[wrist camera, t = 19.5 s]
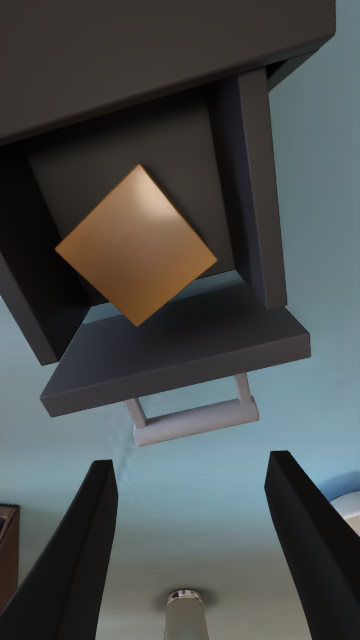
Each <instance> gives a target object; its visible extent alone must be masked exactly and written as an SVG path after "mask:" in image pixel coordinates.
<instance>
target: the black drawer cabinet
mask: <svg viewBox="0 0 360 640" xmlns="http://www.w3.org/2000/svg"><path fill="white" fill-rule="evenodd" d="M335 32H336V0H0V146H3V145H6V144H9V143H13V142H16V141H19V140H23V139H26V138H29V137H32V136H36V135H39V134H42V133H45V132H49V131H52V130H55V129H59V128H62V127H65V126H68V125H72V124H75V123H78V122H81V121H85V120H88V119H91V118H95V117H98V116H101V115H104V114H108V113H111V112H114V111H117V110H121V109H124V108H127V107H131V106H134V105H137V104H140V103H144V102H147V101H150V100H153V99H157V98H160V97H163V96H167V95H170V94H173V93H176V92H180V91H183V90H186V89H189V88H193V87H196V86H199V85H203V84H206V83H209V82H212V81H216V80H219V79H222V78H225V77H229V76H232V75H235V74H238V73H242V72H245V71H248V70H252V69H255V68H258V67H261V66H265V65H266V75H267V86H268V92H269V91H271V90H272V89H273V88H274V87H275V86H276V85H278V84H279V83H280V82H281V81H282V80H284V79H285V78H286V77H287V76H288V75H289V74H291V73H292V72H293V71H294V70H295V69H297V68H298V67H299V66H300V65H301V64H302V63H304V62H305V61H306V60H307V59H308V58H310V57H311V56H312V55H313V54H314V53H315V52H317V51H318V50H319V48H320V47H322V46H323V45H324V44H325V43H326V42H327V41H329V40H330V39H331V38H332V37H333V36H334V35H335Z"/></svg>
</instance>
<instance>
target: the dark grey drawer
mask: <svg viewBox="0 0 360 640" xmlns="http://www.w3.org/2000/svg"><path fill="white" fill-rule="evenodd" d="M137 163H141V164H142V165H144V166H145V167H147V168H148V169H149V170H150V172H151V173H152V174H153V175H154V177H155V178H156V179H157V180H158V182H159V183H160V184H161V185H162V187H163V188H164V189H165V190H166V192H167V193H168V194H169V195H170V197H171V198H172V199H173V200H174V202H175V203H176V204H177V205H178V207H179V208H180V209H181V210H182V212H183V213H184V214H185V215H186V217H187V218H188V219H189V220H190V222H191V223H192V224H193V225H194V227H195V228H196V229H197V230H198V232H199V233H200V234H201V235H202V237H203V238H204V239H205V241H206V242H207V244H208V245H209V247H210V248H211V250H212V251H213V253H214V254H215V256H216V257H217V259H218V261H217V262H216V263H214V264H213V265H212V266H211V267H210V268H208V269H207V270H206V271H205V272H203V273H202V274H201V275H200V276H199V277H197V278H196V279H195V280H197V279H201V278H204V277H208V276H212V275H216V274H220V273H224V272H228V271H231V270H236V271H237V272H238V274H239V275H240V276H241V277H242V279H243V280H244V281H245V282H246V283H243V284H239V285H235V286H231V287H227V288H224V289H220V290H216V291H212V292H208V293H204V294H200V295H196V296H192V297H188V298H184V299H180V300H177V301H173V302H169V303H166V304H165V305H163V306H162V307H161V308H160V309H158V310H157V311H156V312H155V313H154V314H152V315H151V316H150V317H149V318H148V319H146V320H145V321H144V322H143V323H141V324H140V325H139V326H135V325H134V324H133V323H132V322H131V321H130V320H129V319H128V318H127V317H126V316H125V315H124V314H122V315H118V316H114V317H110V318H106V319H102V320H98V321H94V322H90V323H86V324H82V322H83V320H84V318H85V317H86V315H87V313H88V311H89V310H90V308H91V307H92V306H96V305H100V304H104V303H108V302H110V301H109V300H108V299H107V298H105V297H104V296H103V295H102V294H101V293H100V292H99V291H98V290H97V289H96V288H95V287H94V286H93V285H92V284H90V283H89V282H88V281H87V280H86V279H85V278H84V277H83V276H82V275H81V274H80V273H79V272H78V271H77V270H76V269H74V268H73V267H72V266H71V265H70V264H69V263H68V262H67V261H66V260H65V259H64V258H63V257H62V256H61V255H60V254H58V253H57V252H56V251H55V247H56V246H57V245H58V244H59V243H60V242H61V241H62V240H63V239H64V238H65V237H66V236H67V235H68V234H69V233H70V232H71V231H72V230H73V229H74V228H75V227H76V226H77V225H78V224H79V223H80V222H81V221H82V220H83V219H84V218H85V217H86V216H87V215H88V214H89V213H90V212H91V211H92V210H93V208H94V207H95V206H96V205H97V204H98V203H99V202H100V201H101V200H102V199H103V198H104V197H105V196H106V195H107V194H108V193H109V192H110V191H111V190H112V189H113V188H114V187H115V186H116V185H117V184H118V183H119V182H120V181H121V180H122V179H123V178H124V177H125V176H126V175H127V174H128V173H129V172H130V171H131V170H132V169H133V168H134V166H135V165H136V164H137ZM0 295H1V297H2V299H3V300H4V302H5V304H6V305H7V307H8V309H9V311H10V312H11V314H12V316H13V318H14V319H15V321H16V323H17V324H18V326H19V328H20V330H21V331H22V333H23V335H24V337H25V338H26V340H27V342H28V343H29V345H30V347H31V349H32V350H33V352H34V354H35V356H36V357H37V359H38V361H39V362H40V364H41V366H44V365H48V364H52V363H56V362H59V361H60V360H61V361H60V363H59V364H58V366H57V368H56V370H55V371H54V373H53V375H52V377H51V378H50V380H49V382H48V383H47V385H46V387H45V389H44V390H43V392H42V394H41V396H40V400H41V402H42V404H43V405H44V407H45V409H46V410H47V412H48V413H49V415H50V417H57V416H61V415H65V414H69V413H74V412H78V411H82V410H86V409H91V408H95V407H99V406H104V405H108V404H112V403H116V402H121V401H124V402H125V404H126V407H127V409H128V411H129V413H130V415H131V418H132V420H133V422H134V438H135V441H136V444H137V445H138V446H139V447H141V446H145V445H150V444H155V443H159V442H164V441H168V440H173V439H177V438H182V437H186V436H191V435H195V434H200V433H204V432H209V431H213V430H218V429H222V428H227V427H231V426H236V425H240V424H245V423H249V422H254V421H258V420H259V413H258V409H257V405H256V402H255V400H254V397H253V396H252V395H250V390H249V384H248V379H247V373H246V372H249V371H253V370H258V369H262V368H266V367H271V366H275V365H279V364H283V363H288V362H292V361H296V360H300V359H305V358H309V357H311V347H310V333H309V332H308V331H307V330H306V329H305V328H304V327H303V326H302V325H301V324H300V323H299V322H298V320H297V319H296V318H295V317H294V316H293V315H292V314H291V313H290V312H289V311H288V310H287V309H286V308H285V307H284V306H287V293H286V282H285V271H284V260H283V250H282V239H281V228H280V217H279V206H278V195H277V184H276V173H275V162H274V151H273V140H272V129H271V119H270V108H269V97H268V86H267V75H266V65H265V66H261V67H258V68H255V69H252V70H248V71H245V72H242V73H238V74H235V75H232V76H229V77H225V78H222V79H219V80H216V81H212V82H209V83H206V84H203V85H199V86H196V87H193V88H189V89H186V90H183V91H180V92H176V93H173V94H170V95H167V96H163V97H160V98H157V99H153V100H150V101H147V102H144V103H140V104H137V105H134V106H131V107H127V108H124V109H121V110H117V111H114V112H111V113H108V114H104V115H101V116H98V117H95V118H91V119H88V120H85V121H81V122H78V123H75V124H72V125H68V126H65V127H62V128H59V129H55V130H52V131H49V132H45V133H42V134H39V135H36V136H32V137H29V138H26V139H23V140H19V141H16V142H13V143H9V144H6V145H3V146H0ZM81 324H82V325H81ZM80 325H81V326H80ZM79 327H80V328H79ZM78 329H79V330H78ZM77 330H78V331H77ZM76 332H77V333H76ZM75 334H76V335H75ZM74 336H75V337H74ZM73 337H74V338H73ZM72 339H73V340H72ZM71 341H72V342H71ZM70 342H71V344H70ZM69 344H70V345H69ZM68 346H69V347H68ZM67 348H68V349H67ZM66 349H67V351H66ZM65 351H66V352H65ZM64 353H65V354H64ZM63 355H64V356H63ZM62 356H63V357H62ZM61 358H62V359H61ZM232 375H234V377H235V382H236V386H237V391H238V396H239V398H236V399H232V400H228V401H223V402H219V403H214V404H210V405H206V406H201V407H197V408H193V409H188V410H184V411H179V412H175V413H171V414H166V415H162V416H157V417H153V418H149V419H147V418H146V416H145V413H144V411H143V408H142V406H141V404H140V401H139V399H138V397H142V396H146V395H151V394H155V393H159V392H164V391H168V390H172V389H176V388H181V387H185V386H189V385H193V384H198V383H202V382H206V381H211V380H215V379H219V378H223V377H228V376H232Z"/></svg>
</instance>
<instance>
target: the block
mask: <svg viewBox="0 0 360 640" xmlns="http://www.w3.org/2000/svg"><path fill="white" fill-rule="evenodd" d="M55 251H56V252H57V253H58V254H60V255H61V256H62V257H63V258H64V259H65V260H66V261H67V262H68V263H69V264H70V265H71V266H72V267H73V268H74V269H76V270H77V271H78V272H79V273H80V274H81V275H82V276H83V277H84V278H85V279H86V280H87V281H88V282H89V283H90V284H92V285H93V286H94V287H95V288H96V289H97V290H98V291H99V292H100V293H101V294H102V295H103V296H104V297H105V298H107V299H108V300H109V301H110V302H111V303H112V304H113V305H114V306H115V307H116V308H117V309H118V310H119V311H120V312H121V313H123V314H124V315H125V316H126V317H127V318H128V319H129V320H130V321H131V322H132V323H133V324H134V325H135V326H139V325H140V324H141V323H143V322H144V321H145V320H146V319H148V318H149V317H150V316H151V315H152V314H154V313H155V312H156V311H157V310H158V309H160V308H161V307H162V306H163V305H165V304H166V303H167V302H168V301H169V300H171V299H172V298H173V297H174V296H176V295H177V294H178V293H179V292H180V291H182V290H183V289H184V288H185V287H186V286H188V285H189V284H190V283H191V282H193V281H194V280H195V279H196V278H197V277H199V276H200V275H201V274H202V273H203V272H205V271H206V270H207V269H208V268H210V267H211V266H212V265H213V264H214V263H216V262H217V261H218V259H217V257H216V256H215V254H214V253H213V251H212V250H211V248H210V247H209V245H208V244H207V242H206V241H205V239H204V238H203V237H202V235H201V234H200V233H199V232H198V230H197V229H196V228H195V227H194V225H193V224H192V223H191V222H190V220H189V219H188V218H187V217H186V215H185V214H184V213H183V212H182V210H181V209H180V208H179V207H178V205H177V204H176V203H175V202H174V200H173V199H172V198H171V197H170V195H169V194H168V193H167V192H166V190H165V189H164V188H163V187H162V185H161V184H160V183H159V182H158V180H157V179H156V178H155V177H154V175H153V174H152V173H151V172H150V170H149V169H148V168H147V167H145V166H144V165H142V164H141V163H137V164H136V165H135V166H134V168H133V169H132V170H131V171H130V172H129V173H128V174H127V175H126V176H125V177H124V178H123V179H122V180H121V181H120V182H119V183H118V184H117V185H116V186H115V187H114V188H113V189H112V190H111V191H110V192H109V193H108V194H107V195H106V196H105V197H104V198H103V199H102V200H101V201H100V202H99V203H98V204H97V205H96V206H95V207H94V208H93V210H92V211H91V212H90V213H89V214H88V215H87V216H86V217H85V218H84V219H83V220H82V221H81V222H80V223H79V224H78V225H77V226H76V227H75V228H74V229H73V230H72V231H71V232H70V233H69V234H68V235H67V236H66V237H65V238H64V239H63V240H62V241H61V242H60V243H59V244H58V245H57V246H56V247H55Z"/></svg>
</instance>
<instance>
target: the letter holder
mask: <svg viewBox="0 0 360 640" xmlns="http://www.w3.org/2000/svg"><path fill="white" fill-rule="evenodd" d="M18 519H19V506H17V505H16V506H4V505H0V613H1V612H2V610H3V609H4V607H5V606H6V605H7V603H8V602H9V600H10V599H11V598H12V596H13V595H14V593H15V592H16V591H17V563H18Z"/></svg>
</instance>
